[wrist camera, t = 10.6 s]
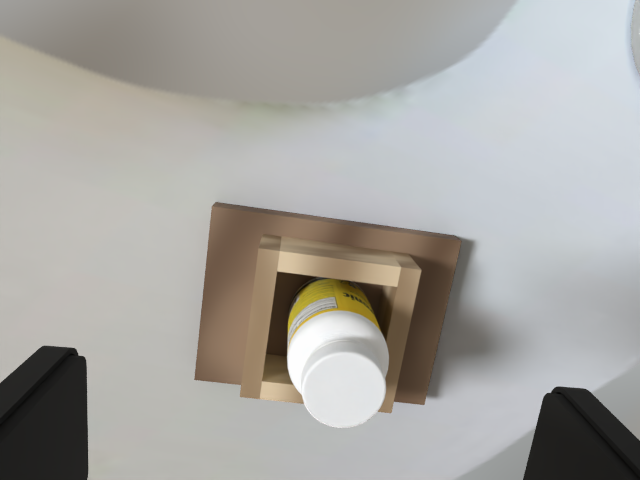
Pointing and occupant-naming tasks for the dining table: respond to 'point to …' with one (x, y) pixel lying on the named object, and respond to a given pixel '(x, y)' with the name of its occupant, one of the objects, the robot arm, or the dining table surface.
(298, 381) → the supplement bottle
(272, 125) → the dining table surface
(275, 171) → the dining table surface
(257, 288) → the socket board
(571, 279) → the dining table surface
